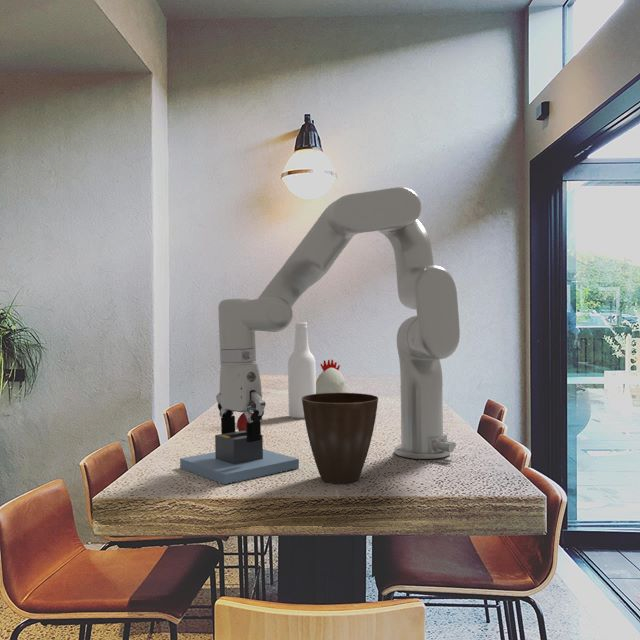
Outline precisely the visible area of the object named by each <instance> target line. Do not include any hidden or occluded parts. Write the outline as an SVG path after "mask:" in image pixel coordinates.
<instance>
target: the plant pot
mask: <svg viewBox="0 0 640 640" xmlns="http://www.w3.org/2000/svg"><path fill="white" fill-rule="evenodd" d="M378 402H379V396H377V395H374V394H368V393H359V392H357V393H356V392H349V393H320V394H311V395H306V396H304V397H302V404H303V411H304V418H305V419H304V422H305V429H306V433H307V437H308V441H309V445H310V446H309V447H310V448H311V453H312V456H313V459H314V462H315V466H316V468H317V471H318V474H319V476H320V478H321V480H322V481H323V480H324V482H326V481H327V482H326V483H329V482H332V483H331V484H349V482H351V483H354V481H355V482H357V481H359V479H360V477H361V475H362V471H363V469H364V465H365V463H366V459H367V456H368V453H369V449H370V445H371V442H372V438H373V434H374V433H373V432H374V428H375V424H376V418H377V411H378Z"/></svg>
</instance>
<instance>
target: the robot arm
mask: <svg viewBox="0 0 640 640" xmlns="http://www.w3.org/2000/svg"><path fill="white" fill-rule="evenodd" d="M421 211H422V202H421V199H420V197H419V195H418V194H417V193H416V192H415V191H414V190H412V189H410V188H407V187H402V186H396V187H390V188H383V189H377V190H370V191H363V192H362V191H361V192H356V193H350V194H346V195H343V196H340V197H338V198H337V199H336V200H335V201H333V202H331V203H330V204H329V205H328V206H327V207H326V208H325V209H324V211H323V212H321V214H320V215H319V217H318V218H317V220H316V221H315V223H313V225H312V226H311V228H310V229H309V231H308V232H307V233H306V235H305V236H304V237H303V239H302V240H301V242H300V243H299V244H298V245H297V246H296V248H295V249H294V250H293V252H291V254H290V256H289V257H288V258H287V259H286V261H285V263H283V265H282V267H281V268H280V269H279V270H278V271H277V273H276V274H275V275H274V276H273V277H272V279H271V280H270V281H269V283H268V284H267V285H266V287H265V288H264V289H263V291H262V292H261V294H260V295H259V296H258V297H257V298H255V299H249V298H227V299H222V300H220V302H219V304H218V306H217V307H218V308H217V309H218V334H219V335H218V338H219V339H218V340H219V361H220V362H219V364H220V371H219V393H218V394H216V395H215V398H216V402H217V409H218V410H219V417H220V423H221V424H220V426H221V427H220V428H221V434H225V433H231V432H236V416H235V415H234V413H235V412H237V413H241V414H242V413H244V414H245V416H246V418H247V420H248V423H246V435H247V442H254V441H259V440H261V435H262V431H261V430H262V427H261V424H262V423H261V422H262V420H263V416H264V414H265V407H266V401H265V400H264V399H263V389H262V383H261V375H260V370H259V366H258V363H257V351H256V350H257V349H256V348H257V347H256V331H258V332H269V333H278V332H281V331H284V330H285V329H287V328H288V327H289V326H290V324H291V323H292V321H293V316H294V314H293V313H294V312H293V308H292V307H294V305H295V304H296V302H297V301H298V300H299V298H300V297H301V296H303V294H304V293H305V292H306V291H307V290H308V289H310V288H311V287H312V286H314V285H315V284H316V283H318V282H319V281H320V280H321V279H322V278H323V277H324V276H325V275H326V274H327V272H329V270H330V269H331V267H332V266H333V264H334V263H335V261H336V260H337V259H338V257H339V256H340V254H341V253H342V252H343V251H344V249H345V248H346V247H347V245H348V244H349V243H350V241H351V240H352V239H353V237H354V236H355V235H358V234H365V233H371V232H373V233H374V232H379V233H381V234H382V235H383V236H385V237H386V238H387V240H388V241H389V242H390V244H391V246H392V248H393V253H394V260H395V271H396V273H395V274H396V284H397V294H398V299H399V302H400V303H401V304H402V305H403V306H404V307H405V308H407V309H410V310H415V311H416V315H414V316H411V317H409V318H407V319H405V320H404V321H403V322H402V323H401V324H400V326H399V328H398V330H397V333H396V346H397V347H396V349H397V354H398V360H399V361H398V362H399V375H400V376H399V377H400V385H399V386H400V388H399V389H400V439H401V440H400V444H399V445H395V447H394V454H395V455H397V456H399V457H403V458H407V459H414V460H415V459H416V460H433V459H441V458H442V459H443V458H446V457H448V456H450V455H451V453H453V452H454V449H456V447H457V445H456V442H453V441H448V435H447V434H444V418H443V417H444V412H443V411H444V406H443V405H444V404H443V395H444V394H443V385H444V384H443V370H442V365H441V360H443V359H447V358H449V357H451V356H452V355H453V354H454V352H456V350H457V348H458V346H459V343H460V338H461V337H460V333H461V331H460V329H461V327H460V316H459V315H460V314H459V305H458V304H459V301H458V292H457V286H456V283H455V281H454V279H453V277H452V275H451V273H450V272H449V271H448V270H447V269H445V268H444V267H441V266H439V265H435V264H434V256H433V249H432V244H431V243H432V242H431V239H430V236H429V234H428V232H427V230H426V228H425V227H424V225H423V224H422V223H421V221H420V220H419V219H418V218H419V217H420V215H421ZM251 412H252V413H253V414H252V416H251Z"/></svg>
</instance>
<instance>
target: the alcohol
mask: <svg viewBox="0 0 640 640" xmlns="http://www.w3.org/2000/svg"><path fill="white" fill-rule="evenodd" d="M294 328H295V329H294V330H295V331H294V333H295V334H294V347H293V352H292V353H291V354H290V355H289V357H288V361H287V371H288V372H287V379H288V380H287V383H288V388H287V389H288V416H290V418H291V419H301V420H305V418H304V411H303V404H302V397H304V396H306V395H311V394H316V381H317V379H316V378H317V377H316V376H317V372H316V371H317V369H316V367H317V366H316V363H317V362H316V357H315V355H314V354H312V353H311V350H310V346H309V345H310V343H309V336H308V322H303V321H301V322H295V323H294Z"/></svg>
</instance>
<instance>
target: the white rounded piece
mask: <svg viewBox="0 0 640 640" xmlns="http://www.w3.org/2000/svg"><path fill="white" fill-rule="evenodd" d="M326 361H327V362H326ZM337 365H338V366H337ZM320 366H321V367H320V368H321V370H322V372H321V373H320V374H319V375H318V377H317V379H316V394H320V393H350V391H349V388H348V385H347V382H346V379H345V377H344V375H343V374H342V373H341V372H340V371H339V370H340V367H341V365H340V364H338V362H337V361H336V362H334V359H331V360H330V359H328V360H325V359H324V360H323V364H322V363H320Z"/></svg>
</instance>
